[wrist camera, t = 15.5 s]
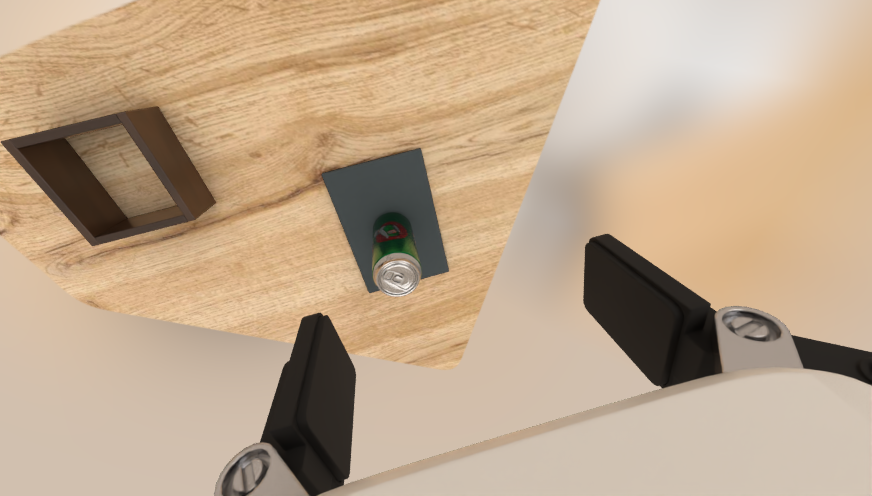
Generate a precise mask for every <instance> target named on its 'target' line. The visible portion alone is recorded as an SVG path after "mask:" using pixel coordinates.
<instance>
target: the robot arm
mask: <svg viewBox="0 0 872 496" xmlns="http://www.w3.org/2000/svg"><path fill="white" fill-rule="evenodd" d="M583 301H584V305H585V308H586V309H587V311H588V312H589V313H590V314H591V315H592V316H593V317H594V318H595V320H596V321H597V322H598V323H599V324H600V325H601V326H602V328H604V330H605V331H606V332H607V333H608V334H609V335H610V336H611V338H612V339H613V340H614V341H615V342H616V343H617V344H618V345H619V347H620V348H621V349H622V350H623V351H624V352H625V353H626V354H627V355H628V357H629V358H630V359H631V360H632V361H633V362H634V363H635V364H636V366H637V367H638V368H639V369H640V370H641V371H642V372H643V373H644V374H645V376H646V377H647V378H648V379H649V380H650V381H651V382H652V383H653V384H654V385H656V386H661V387H662V389H659V390H656V391H652V392H648V393H645V394H641V395H638V396H635V397H631V398H628V399H624V400H621V401H618V402H614V403H611V404H607V405H604V406H601V407H597V408H594V409H590V410H587V411H583V412H580V413H577V414H573V415H570V416H567V417H563V418H560V419H556V420H553V421H550V422H546V423H543V424H540V425H537V426H533V427H530V428H526V429H523V430H520V431H516V432H513V433H510V434H506V435H503V436H500V437H496V438H493V439H490V440H486V441H483V442H480V443H476V444H473V445H470V446H466V447H463V448H460V449H457V450H453V451H450V452H447V453H444V454H440V455H437V456H434V457H430V458H427V459H424V460H420V461H417V462H414V463H411V464H407V465H404V466H401V467H398V468H395V469H392V470H388V471H385V472H382V473H379V474H376V475H373V476H370V477H367V478H364V479H361V480H358V481H355V482H352V483H348V484H346V485H344V479H347V478H348V477H349V474H350V461H351V445H352V429H353V413H354V397H355V382H356V372H355V368H354V365H353V363H352V361H351V359H350V357H349V355H348V353H347V351H346V349H345V348H344V346H343V344H342V342H341V340H340V338H339V336H338V334H337V332H336V330H335V328H334V326H333V324H332V322H331V320H330V318H329V317H328V316H327V315H325V316H323V315H322V314H321V313H317V314H313V315H309V316H306V317H303V318H302V320H301V324H300V327H299V330H298V334H297V337H296V341H295V344H294V347H293V351H292V354H291V357H290V361H288V362H287V363H286V364H285V365H284V367H283V370H282V373H281V377H280V380H279V383H278V387H277V389H276V393H275V396H274V399H273V402H272V406H271V409H270V412H269V415H268V418H267V422H266V425H265V428H264V431H263V434H262V438H261V441H260V443H256V444H253V445H251V446H249V447H246V448H245V449H243V450H242V451H241V452H239V453H238V454H237V455H236V456H235V457H233V459H232V460H231V461H230V462H229V463H228V464H227V465H226V467H225V468H224V470H223V471H222V472H221V474H220V476H219V479H218V481H217V483H216V487H215V492H214V496H872V352H868V351H863V350H858V349H854V348H849V347H845V346H840V345H835V344H831V343H826V342H821V341H816V340H812V339H807V338H802V337H798V336H793V335H791V334H790V331H789V330H788V328H787V327H786V325H785V324H783V323H782V322H781V321H780V320H778V319H777V318H776V317H774V316H772V315H770V314H768V313H765V312H763V311H760V310H757V309H753V308H749V307H741V306H731V307H725V308H722V309H720V310H719V311H718V312H716V311H715V310H714V309H712V308H711V307H710V305H711V304H710V303H709V302H707V301H706V300H704V299H703V298H701V297H700V296H698V295H697V294H696V293H694V292H693V291H691V290H690V289H688V288H687V287H685V286H684V285H683V284H681V283H679V282H678V281H677V280H675V279H674V278H672V277H671V276H669V275H668V274H667V273H665V272H664V271H662V270H661V269H659V268H658V267H656V266H655V265H653V264H652V263H650V262H649V261H648V260H646V259H645V258H643V257H642V256H640V255H639V254H637V253H636V252H634V251H633V250H632V249H630V248H629V247H627V246H626V245H624V244H623V243H621V242H620V241H618V240H617V239H616V238H614V237H613V236H611V235H609V234H604V235H600V236H597V237H593V238H591V239H590V240H589V243H587V244H586V246H585V269H584V299H583Z"/></svg>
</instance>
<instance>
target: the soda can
mask: <svg viewBox="0 0 872 496" xmlns="http://www.w3.org/2000/svg"><path fill="white" fill-rule="evenodd" d="M421 276H422V267H421V263H420V259H419V255H418V250H417V246H416V242H415V238H414V234H413V230H412V226H411V223H410V221H409V220H408V218H407V217H405V216H404V215H402V214H400V213H396V212H388V213H385V214H383V215H381V216H380V217H378V218H377V220H376V221H375V223H374V225H373V242H372V277H373V280H374V282H375V284H376V285H377V286H378V288H379V289H380V290H381V291H382V292H383V293H384V294H386V295H389V296H393V297H400V296H405V295H407V294H409V293H411V292H412V291H414V290H415V288H416V287H417V286H418V283H419V281H420V279H421Z"/></svg>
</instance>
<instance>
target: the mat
mask: <svg viewBox="0 0 872 496" xmlns="http://www.w3.org/2000/svg"><path fill="white" fill-rule="evenodd" d="M322 177H323V180H324V182H325V185H326V187H327V189H328V192H329V194H330V197H331V199H332V202H333V204H334V207H335V209H336V212H337V214H338V217H339V219H340V222H341V224H342V227H343V229H344V232H345V234H346V237H347V239H348V242H349V244H350V247H351V249H352V252H353V254H354V256H355V259H356V261H357V264H358V266H359V269H360V271H361V274H362V276H363V279H364V281H365V284H366V286H367V289H368V291H369V293H372V292H376V291H379V290H380V289H379V288H378V286H377V285H376V284H375V282H374V280H373V277H372V242H373V225H374V223H375V221H376V220H377V218H378V217H380V216H381V215H383V214H385V213H388V212H396V213H400V214H402V215H404V216H405V217H407V218H408V220H409V221H410V223H411V226H412V230H413V234H414V238H415V242H416V246H417V250H418V255H419V259H420V263H421V267H422V276H421V279H423V278H427V277H431V276H434V275H438V274H442V273H445V272H449V269H448V264H447V260H446V256H445V251H444V247H443V243H442V238H441V234H440V230H439V225H438V221H437V217H436V212H435V208H434V204H433V199H432V195H431V191H430V186H429V182H428V178H427V173H426V169H425V165H424V160H423V156H422V151H421V149H420V148H419V149H415V150H411V151H407V152H403V153H399V154H395V155H391V156H387V157H383V158H379V159H376V160H372V161H368V162H364V163H360V164H356V165H352V166H348V167H344V168H340V169H337V170H333V171H329V172H325V173H322Z"/></svg>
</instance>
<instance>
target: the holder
mask: <svg viewBox="0 0 872 496" xmlns="http://www.w3.org/2000/svg"><path fill="white" fill-rule="evenodd" d="M119 125H124V127H125V128H126V130H127V131H128V133H129V134H130V136H131V137H132V139H133V140H134V142H135V143H136V145H137V146H138V148H139V149H140V151H141V152H142V154H143V155H144V157H145V158H146V160H147V161H148V162H149V164H150V165H151V167H152V168H153V170H154V171H155V173H156V174H157V176H158V177H159V179H160V180H161V182H162V183H163V185H164V186H165V188H166V189H167V191H168V192H169V194H170V195H171V197H172V198H173V200H174V201H175V203H176V204H177V206H174V207H170V208H166V209H162V210H159V211H155V212H151V213H147V214H143V215H139V216H135V217H131V218H126V216H125V215H124V214H123V213H122V211H121V210H120V209H119V207H118V206H117V205H116V204H115V202H114V201H113V200H112V198H111V197H110V196H109V195H108V193H107V192H106V191H105V189H104V188H103V187H102V186H101V184H100V183H99V182H98V180H97V179H96V178H95V177H94V175H93V174H92V173H91V172H90V170H89V169H88V168H87V166H86V165H85V164H84V163H83V161H82V160H81V159H80V157H79V156H78V155H77V154H76V152H75V151H74V150H73V148H72V147H71V146H70V145H69V143H68V142H67V141H66V139H65V138H69V137H74V136H78V135H82V134H86V133H90V132H94V131H98V130H102V129H106V128H111V127H115V126H119ZM1 143H2V145H3V146H4V147H5V148H6V149H7V150H8V151H9V152H10V154H11V155H12V156H13V157H14V158H15V159H16V160H17V162H18V163H19V164H20V165H21V166H22V167H23V168H24V169H25V171H26V172H27V173H28V174H29V175H30V176H31V177H32V179H33V180H34V181H35V182H36V183H37V184H38V185H39V186H40V188H41V189H42V190H43V191H44V192H45V193H46V194H47V195H48V197H49V198H50V199H51V200H52V201H53V202H54V203H55V205H56V206H57V207H58V208H59V209H60V210H61V211H62V212H63V214H64V215H65V216H66V217H67V218H68V219H69V220H70V222H71V223H72V224H73V225H74V226H75V227H76V228H77V229H78V231H79V232H80V233H81V234H82V235H83V236H84V237H85V239H86V240H87V241H88V242H89V243H90V244H91V245H92V246H95V245H99V244H103V243H107V242H111V241H115V240H119V239H123V238H127V237H130V236H134V235H138V234H142V233H146V232H150V231H154V230H158V229H161V228H165V227H169V226H173V225H177V224H181V223H185V222H188V221H192V220H196V219H197V218H198V217H199V216H200V215H202V214H203V213H204V212H205V211H207V210H208V209H209V208H210V207H211V206H213V205H214V204H215V203H216V202H215V200H214V199H213V197H212V195H211V194H210V192H209V190H208V189H207V187H206V185H205V184H204V182H203V180H202V179H201V177H200V175H199V174H198V172H197V170H196V169H195V167H194V165H193V164H192V162H191V160H190V159H189V157H188V156H187V154H186V152H185V151H184V149H183V147H182V146H181V144H180V142H179V141H178V139H177V137H176V136H175V134H174V132H173V131H172V129H171V127H170V126H169V124H168V122H167V121H166V119H165V117H164V116H163V114H162V112H161V111H160V109H159V108H158V107H151V108H145V109H138V110H131V111H125V112H120V113H117V114H112V115H108V116H104V117H100V118H96V119H91V120H87V121H83V122H79V123H75V124H71V125H67V126H62V127H58V128H54V129H50V130H46V131H42V132H38V133H33V134H29V135H25V136H21V137H17V138H13V139H9V140H5V141H1Z"/></svg>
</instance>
